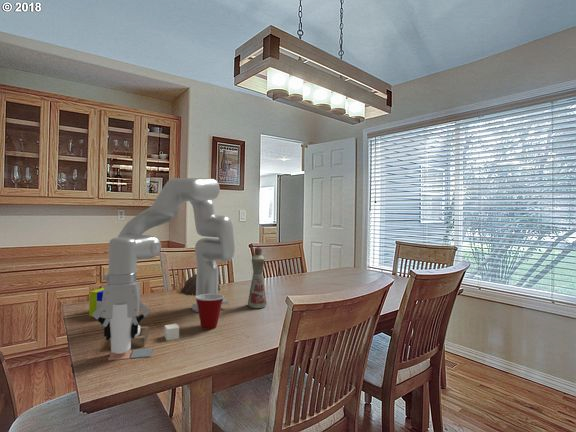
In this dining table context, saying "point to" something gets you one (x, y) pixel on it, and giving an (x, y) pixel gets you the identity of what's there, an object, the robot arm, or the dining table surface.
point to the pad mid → (141, 353)
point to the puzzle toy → (95, 300)
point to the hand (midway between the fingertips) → (121, 336)
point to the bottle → (257, 282)
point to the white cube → (171, 332)
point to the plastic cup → (209, 309)
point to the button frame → (139, 338)
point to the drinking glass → (120, 329)
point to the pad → (120, 356)
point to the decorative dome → (192, 285)
